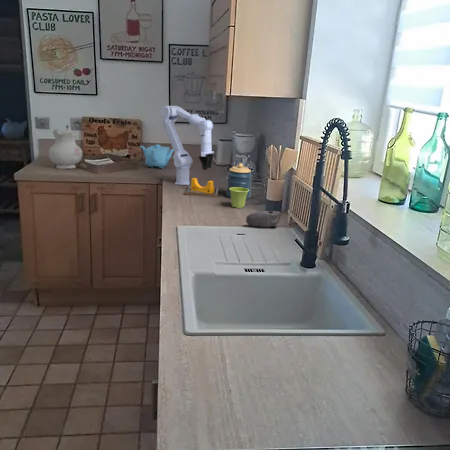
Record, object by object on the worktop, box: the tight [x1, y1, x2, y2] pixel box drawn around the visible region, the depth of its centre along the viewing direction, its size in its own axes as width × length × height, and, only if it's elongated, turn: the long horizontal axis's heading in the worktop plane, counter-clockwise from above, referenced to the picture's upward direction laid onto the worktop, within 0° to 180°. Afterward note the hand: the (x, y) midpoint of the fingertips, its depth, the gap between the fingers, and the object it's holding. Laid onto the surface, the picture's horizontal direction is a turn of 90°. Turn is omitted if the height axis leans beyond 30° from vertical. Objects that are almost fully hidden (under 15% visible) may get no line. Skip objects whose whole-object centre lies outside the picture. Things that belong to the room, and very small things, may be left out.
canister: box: [225, 162, 253, 200], centre depth 242 cm, size 13×13×18 cm
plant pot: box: [229, 187, 249, 209], centre depth 224 cm, size 9×9×9 cm
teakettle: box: [139, 144, 174, 169], centre depth 304 cm, size 19×19×15 cm
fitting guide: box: [184, 184, 219, 198], centre depth 248 cm, size 16×17×2 cm
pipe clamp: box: [190, 177, 216, 194], centre depth 250 cm, size 12×4×6 cm, turn 63°
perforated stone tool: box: [245, 210, 282, 228], centre depth 197 cm, size 15×5×7 cm, turn 94°
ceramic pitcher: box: [48, 124, 83, 170], centre depth 285 cm, size 22×20×25 cm
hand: (206, 168), depth 253 cm, fingers open, 7 cm apart
